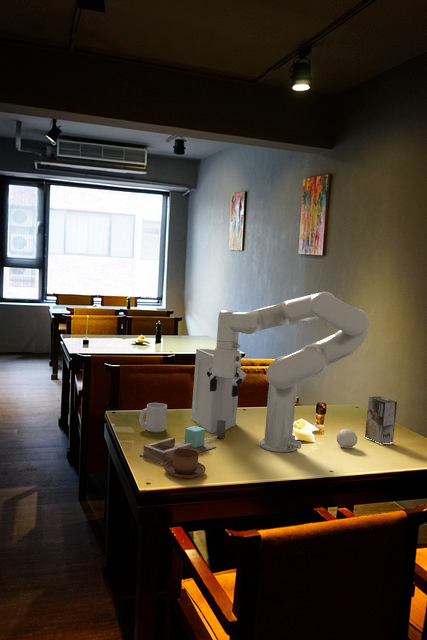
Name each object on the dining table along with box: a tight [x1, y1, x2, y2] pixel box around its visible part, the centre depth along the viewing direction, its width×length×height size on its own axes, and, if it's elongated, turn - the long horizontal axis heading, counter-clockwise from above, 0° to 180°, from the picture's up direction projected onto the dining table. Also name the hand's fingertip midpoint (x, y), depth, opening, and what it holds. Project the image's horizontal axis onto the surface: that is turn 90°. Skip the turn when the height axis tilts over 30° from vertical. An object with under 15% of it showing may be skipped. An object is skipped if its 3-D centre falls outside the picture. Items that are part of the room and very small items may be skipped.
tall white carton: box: [190, 348, 242, 434], centre depth 209 cm, size 19×15×28 cm
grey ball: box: [336, 428, 358, 449], centre depth 192 cm, size 7×7×7 cm
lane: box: [138, 437, 217, 465], centre depth 175 cm, size 25×11×3 cm, turn 142°
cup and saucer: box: [164, 449, 206, 479], centre depth 157 cm, size 12×12×6 cm
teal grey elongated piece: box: [183, 420, 226, 448], centre depth 187 cm, size 19×4×6 cm, turn 142°
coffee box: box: [364, 396, 398, 444], centre depth 203 cm, size 9×6×16 cm
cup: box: [138, 402, 168, 433], centre depth 196 cm, size 7×10×9 cm
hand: (223, 393), depth 192 cm, fingers open, 9 cm apart
